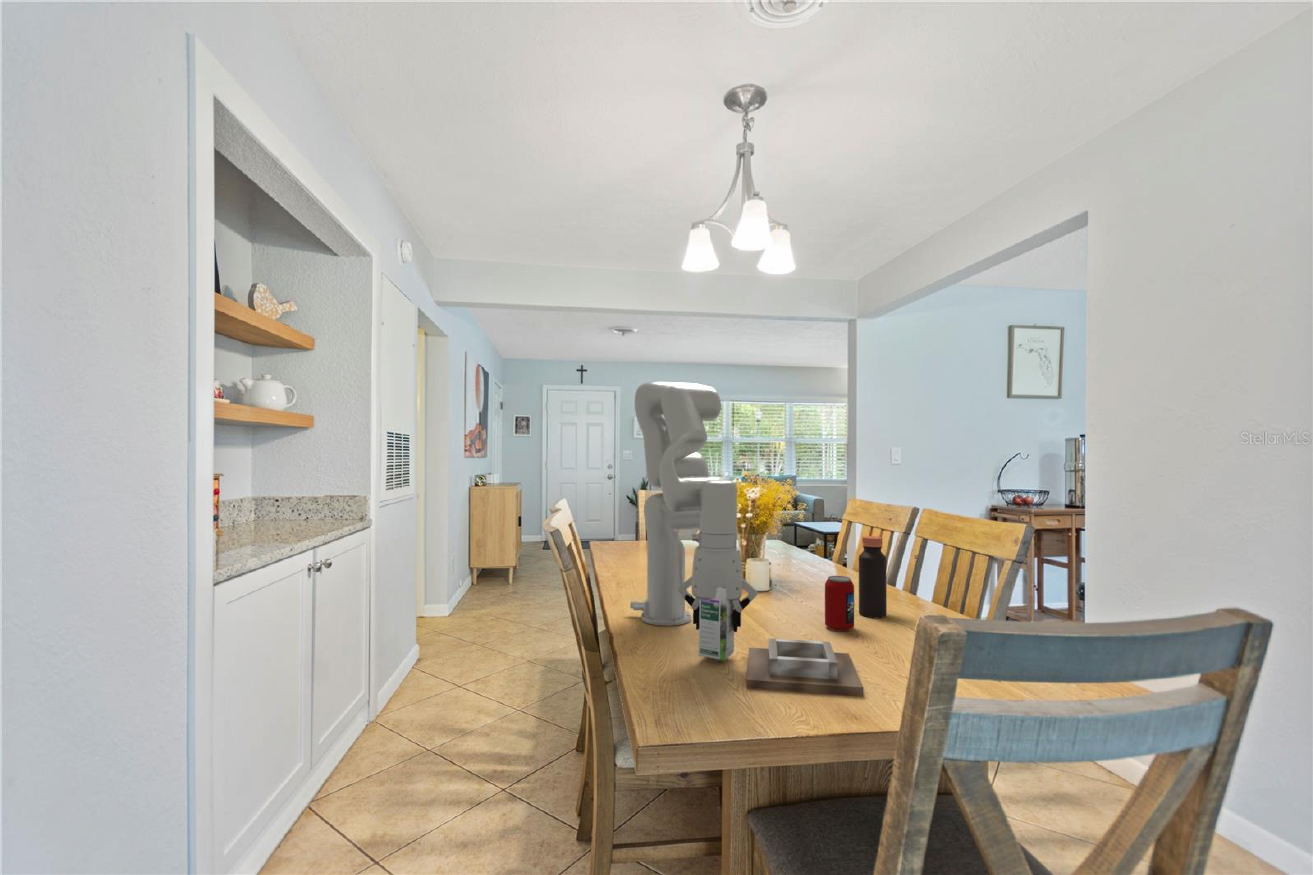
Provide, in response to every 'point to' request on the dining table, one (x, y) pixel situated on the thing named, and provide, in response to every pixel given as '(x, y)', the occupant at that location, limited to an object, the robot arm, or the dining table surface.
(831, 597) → the beverage can
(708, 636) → the syrup box
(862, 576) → the bottle
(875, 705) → the dining table surface
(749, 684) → the collar board
